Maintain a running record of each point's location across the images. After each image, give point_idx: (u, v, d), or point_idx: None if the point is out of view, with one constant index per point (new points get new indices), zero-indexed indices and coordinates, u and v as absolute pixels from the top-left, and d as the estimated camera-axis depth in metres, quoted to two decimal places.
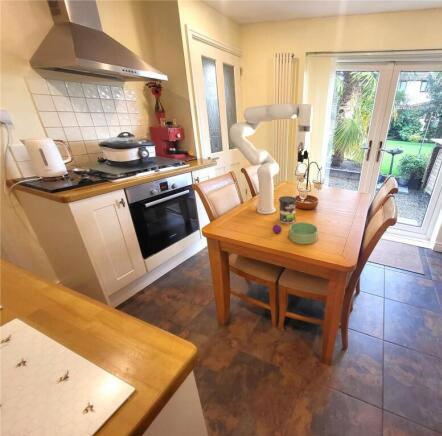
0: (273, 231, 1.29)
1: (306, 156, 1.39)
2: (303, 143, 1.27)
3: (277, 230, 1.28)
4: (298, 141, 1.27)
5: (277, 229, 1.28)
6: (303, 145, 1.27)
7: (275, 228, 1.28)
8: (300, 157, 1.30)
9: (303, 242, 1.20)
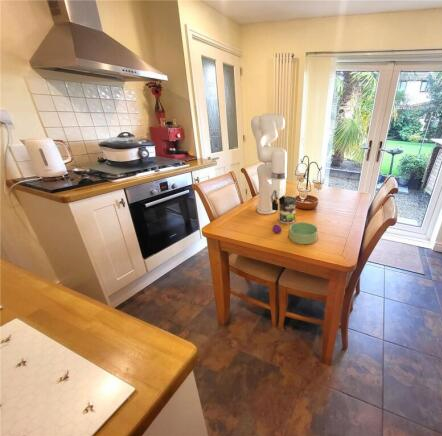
0: (273, 231, 1.29)
1: (283, 201, 1.28)
2: (277, 191, 1.16)
3: (277, 230, 1.28)
4: (272, 189, 1.17)
5: (277, 229, 1.28)
6: (277, 193, 1.16)
7: (275, 228, 1.28)
8: (274, 205, 1.19)
9: (303, 242, 1.20)
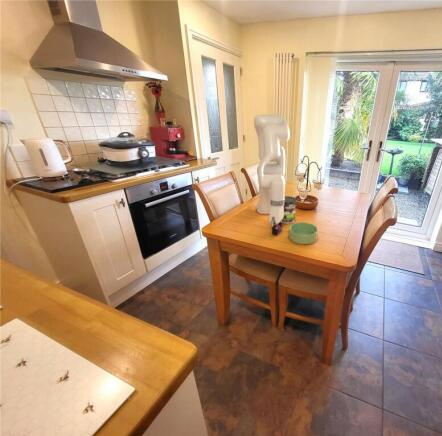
0: None
1: None
2: (275, 218, 1.21)
3: None
4: (270, 215, 1.22)
5: None
6: (275, 219, 1.22)
7: None
8: (274, 231, 1.26)
9: (303, 242, 1.20)
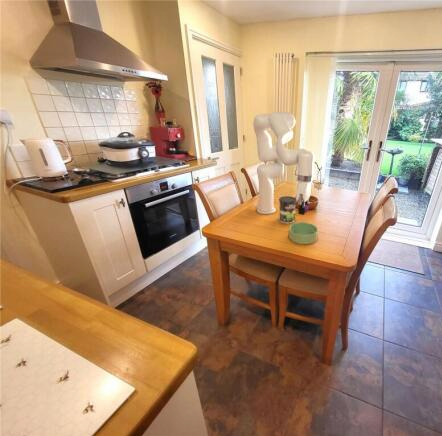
0: None
1: None
2: (303, 194, 1.12)
3: None
4: (298, 192, 1.12)
5: None
6: (303, 196, 1.12)
7: None
8: (301, 210, 1.17)
9: (303, 242, 1.20)
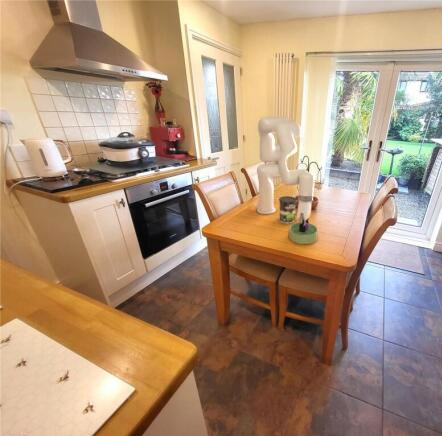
0: None
1: None
2: (304, 214, 1.16)
3: (305, 227, 1.22)
4: (299, 211, 1.16)
5: None
6: (304, 216, 1.16)
7: None
8: (302, 228, 1.21)
9: (303, 242, 1.20)
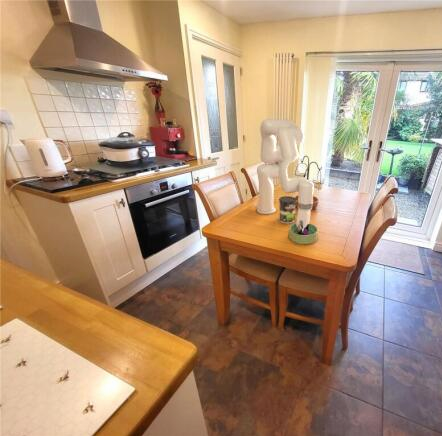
0: None
1: (306, 229, 1.29)
2: (303, 221, 1.18)
3: (304, 234, 1.24)
4: (298, 219, 1.18)
5: (304, 233, 1.23)
6: (303, 223, 1.18)
7: None
8: None
9: (303, 242, 1.20)
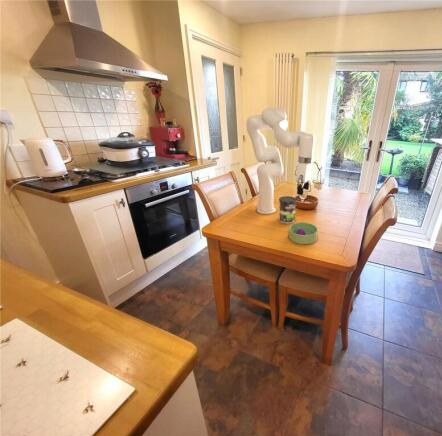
0: None
1: (307, 186, 1.28)
2: (303, 176, 1.16)
3: None
4: (298, 173, 1.17)
5: None
6: (303, 178, 1.17)
7: None
8: (300, 190, 1.19)
9: (303, 242, 1.20)
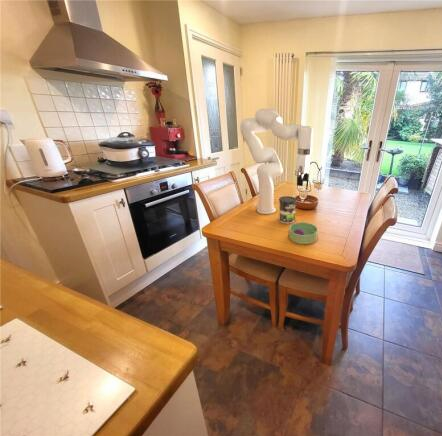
0: None
1: (306, 178, 1.32)
2: (303, 167, 1.20)
3: None
4: (297, 164, 1.21)
5: None
6: (303, 169, 1.21)
7: None
8: (299, 181, 1.23)
9: (303, 242, 1.20)
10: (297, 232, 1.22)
